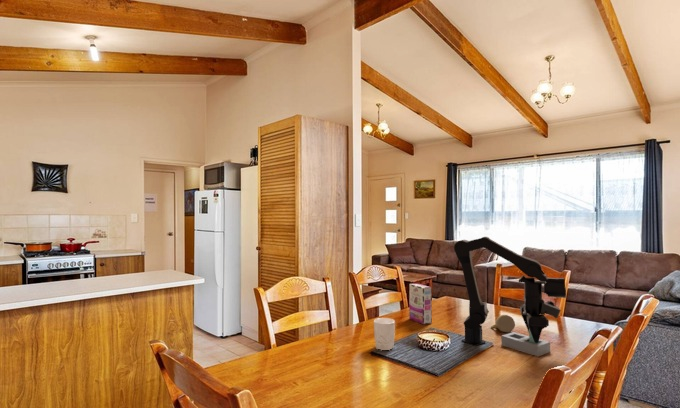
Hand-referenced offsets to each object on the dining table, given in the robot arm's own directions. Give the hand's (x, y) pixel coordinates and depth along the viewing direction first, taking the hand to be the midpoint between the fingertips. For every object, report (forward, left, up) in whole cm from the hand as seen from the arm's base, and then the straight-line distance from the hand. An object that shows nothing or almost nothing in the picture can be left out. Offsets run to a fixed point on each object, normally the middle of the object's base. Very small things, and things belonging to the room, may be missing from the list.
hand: (533, 338), depth 139 cm
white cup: (-42, +33, -5) cm, 54 cm away
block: (0, +3, -4) cm, 6 cm away
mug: (+13, +21, -5) cm, 25 cm away
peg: (0, 0, -4) cm, 5 cm away
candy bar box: (-6, +50, -5) cm, 51 cm away
